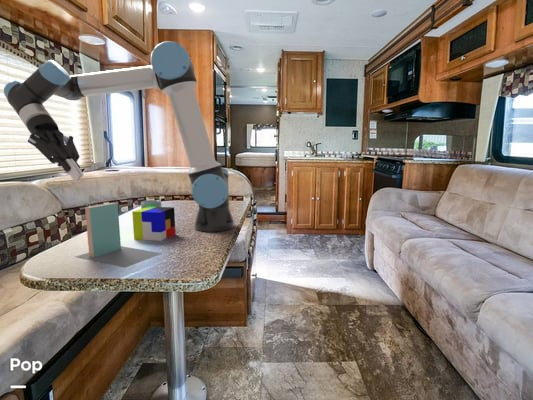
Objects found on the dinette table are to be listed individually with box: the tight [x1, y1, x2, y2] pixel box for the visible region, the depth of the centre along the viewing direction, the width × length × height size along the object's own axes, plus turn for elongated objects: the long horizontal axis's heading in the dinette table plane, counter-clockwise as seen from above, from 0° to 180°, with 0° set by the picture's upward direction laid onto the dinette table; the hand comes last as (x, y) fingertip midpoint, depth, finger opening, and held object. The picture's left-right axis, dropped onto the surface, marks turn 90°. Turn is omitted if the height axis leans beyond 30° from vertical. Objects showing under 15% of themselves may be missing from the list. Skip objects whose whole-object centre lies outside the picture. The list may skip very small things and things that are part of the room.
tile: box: [84, 202, 122, 257], centre depth 96 cm, size 2×9×14 cm, turn 154°
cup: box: [140, 199, 163, 209], centre depth 132 cm, size 8×8×10 cm
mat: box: [74, 245, 163, 268], centre depth 94 cm, size 20×13×1 cm, turn 64°
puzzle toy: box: [132, 206, 177, 242], centre depth 114 cm, size 10×10×10 cm
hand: (79, 177), depth 97 cm, fingers closed
